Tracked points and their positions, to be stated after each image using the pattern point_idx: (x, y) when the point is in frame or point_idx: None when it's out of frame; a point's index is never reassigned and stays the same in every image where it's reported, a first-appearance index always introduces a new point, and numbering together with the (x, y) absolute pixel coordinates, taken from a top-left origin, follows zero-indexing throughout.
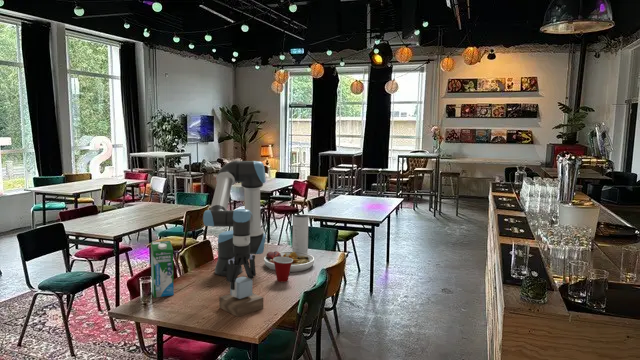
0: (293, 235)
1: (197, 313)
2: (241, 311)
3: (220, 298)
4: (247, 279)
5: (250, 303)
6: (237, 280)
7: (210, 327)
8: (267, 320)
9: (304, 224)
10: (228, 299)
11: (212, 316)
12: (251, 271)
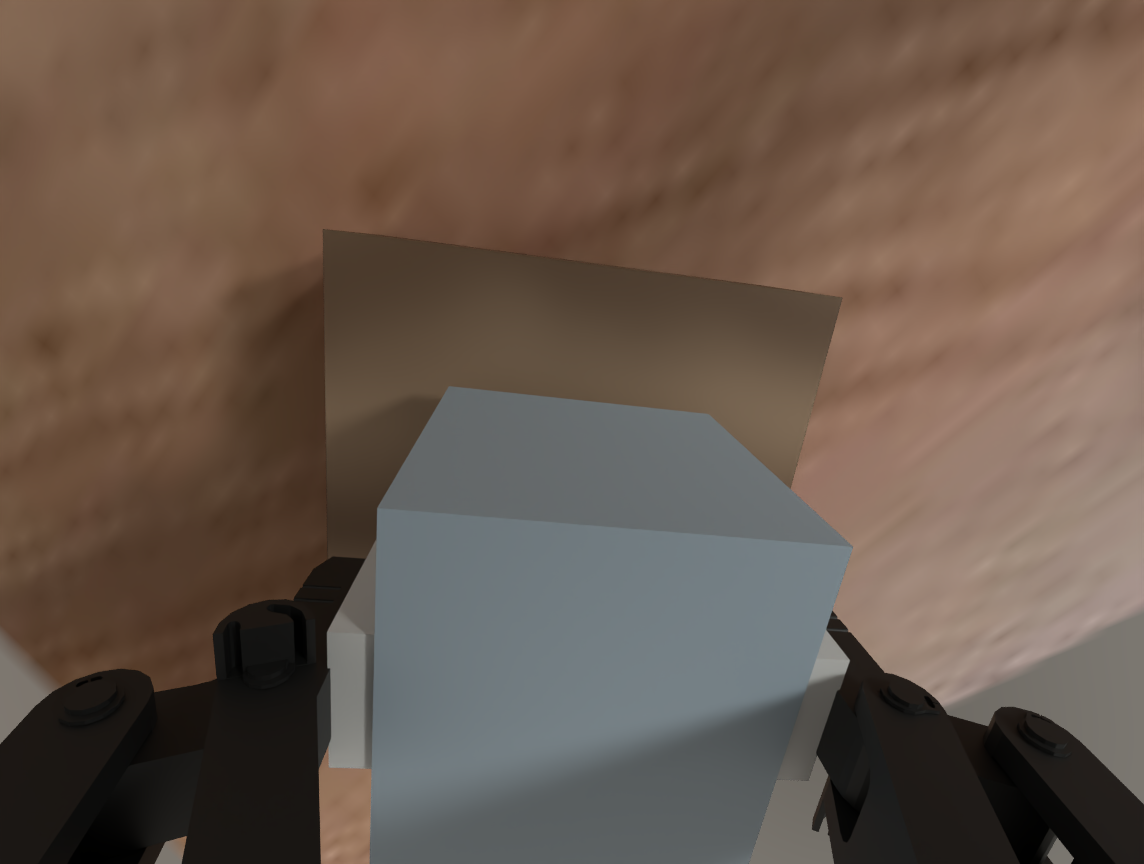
0: None
1: (34, 153)
2: None
3: (328, 265)
4: (706, 788)
5: None
6: (482, 691)
7: (5, 585)
8: None
9: None
10: (369, 432)
11: (159, 386)
12: (1082, 840)
